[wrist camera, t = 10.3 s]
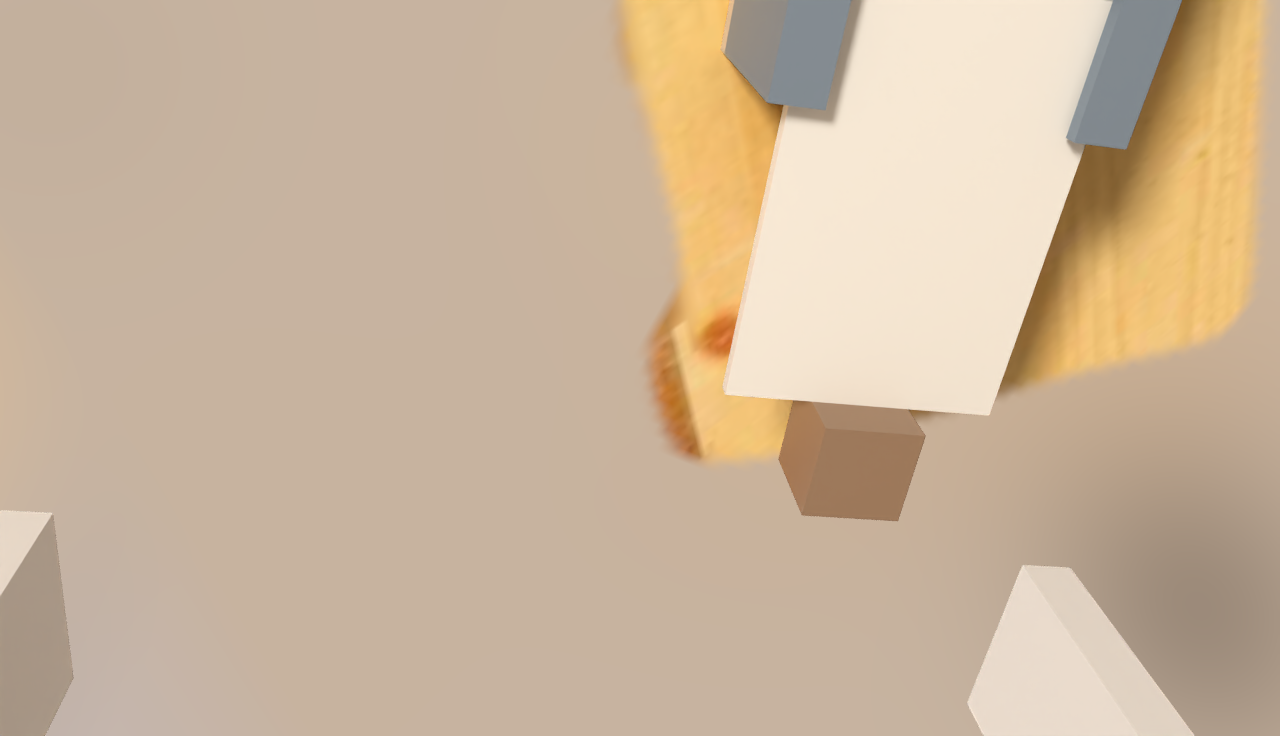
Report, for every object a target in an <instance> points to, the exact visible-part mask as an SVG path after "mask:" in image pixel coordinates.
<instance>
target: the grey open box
mask: <svg viewBox="0 0 1280 736" xmlns="http://www.w3.org/2000/svg"><path fill="white" fill-rule="evenodd" d="M1181 2H1182V0H1113V3H1112V5H1111V8H1110V11H1109V14H1108V17H1107V20H1106V23H1105V26H1104V29H1103V32H1102V34H1101V37H1100V40H1099V43H1098V46H1097V49H1096V52H1095V55H1094V58H1093V61H1092V63H1091V66H1090V69H1089V72H1088V75H1087V78H1086V81H1085V84H1084V87H1083V89H1082V92H1081V95H1080V98H1079V101H1078V104H1077V107H1076V110H1075V113H1074V116H1073V118H1072V121H1071V124H1070V127H1069V130H1068V133H1067V136H1066V138H1067V139H1068V140H1070V141H1072V142H1074V143H1080V144H1087V145H1095V146H1103V147H1110V148H1118V149H1127V146H1128V144H1129V141H1130V138H1131V136H1132V133H1133V130H1134V128H1135V125H1136V122H1137V120H1138V117H1139V114H1140V112H1141V109H1142V106H1143V104H1144V101H1145V98H1146V96H1147V93H1148V90H1149V88H1150V85H1151V82H1152V80H1153V77H1154V74H1155V72H1156V69H1157V66H1158V64H1159V61H1160V58H1161V56H1162V53H1163V50H1164V47H1165V45H1166V42H1167V39H1168V37H1169V34H1170V31H1171V29H1172V26H1173V23H1174V21H1175V18H1176V15H1177V13H1178V10H1179V7H1180V5H1181ZM850 4H851V0H730V2H729V7H728V13H727V18H726V23H725V29H724V34H723V40H722V45H721V51H722V52H723V53H724V54H725V55H726V56H727V58H728V59H729V60H730V61H731V62H732V63H733V64H734V66H735V67H736V68H737V69H738V70H739V71H740V72H741V73H742V75H743V76H744V77H745V78H746V79H747V80H748V81H749V83H750V84H751V85H752V86H753V87H754V88H755V89H756V91H757V92H758V93H759V94H760V95H761V96H762V97H763V99H764V100H765V101H766V102H767V103H773V104H780V105H788V106H796V107H803V108H811V109H819V110H826V106H827V102H828V98H829V93H830V89H831V85H832V81H833V76H834V72H835V68H836V64H837V59H838V55H839V51H840V47H841V42H842V38H843V34H844V30H845V25H846V21H847V17H848V13H849V8H850Z"/></svg>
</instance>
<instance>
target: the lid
mask: <svg viewBox="0 0 1280 736" xmlns="http://www.w3.org/2000/svg"><path fill="white" fill-rule="evenodd" d="M1112 3H1113V0H851V4H850V8H849V13H848V17H847V21H846V25H845V30H844V34H843V38H842V42H841V47H840V51H839V55H838V59H837V64H836V68H835V72H834V76H833V81H832V85H831V89H830V93H829V98H828V102H827V106H826V110H819V109H811V108H803V107H796V106H788V105H784V106H783V110H782V115H781V120H780V124H779V129H778V133H777V138H776V143H775V147H774V152H773V157H772V161H771V166H770V170H769V175H768V180H767V184H766V189H765V193H764V198H763V203H762V207H761V212H760V217H759V221H758V226H757V230H756V235H755V240H754V244H753V249H752V253H751V258H750V263H749V267H748V272H747V277H746V281H745V286H744V290H743V295H742V300H741V304H740V309H739V313H738V318H737V323H736V327H735V332H734V337H733V341H732V346H731V350H730V355H729V360H728V364H727V369H726V373H725V378H724V383H723V390H724V392H725V395H735V396H748V397H760V398H773V399H785V400H793V404H792V408H791V412H790V416H789V420H788V424H787V428H786V432H785V436H784V440H783V444H782V447H781V451H780V455H779V462H780V464H781V466H782V469H783V471H784V474H785V476H786V478H787V481H788V483H789V486H790V488H791V490H792V493H793V495H794V498H795V500H796V502H797V505H798V507H799V510H800V512H801V514H802V515H805V516H822V517H838V518H855V519H872V520H888V521H898V519H899V516H900V513H901V510H902V507H903V504H904V500H905V498H906V495H907V492H908V488H909V485H910V482H911V479H912V476H913V473H914V470H915V467H916V464H917V461H918V458H919V454H920V452H921V449H922V445H923V442H924V439H925V434H924V433H923V431H922V430H921V428H920V427H919V425H918V424H917V422H916V421H915V419H914V418H913V416H912V415H911V413H910V412H909V410H908V409H910V410H923V411H935V412H948V413H960V414H973V415H986V416H989V415H990V412H991V409H992V407H993V404H994V401H995V398H996V395H997V393H998V390H999V387H1000V384H1001V381H1002V379H1003V376H1004V373H1005V370H1006V367H1007V364H1008V362H1009V359H1010V356H1011V353H1012V350H1013V348H1014V345H1015V342H1016V339H1017V336H1018V333H1019V331H1020V328H1021V325H1022V322H1023V319H1024V317H1025V314H1026V311H1027V308H1028V305H1029V303H1030V300H1031V297H1032V294H1033V291H1034V288H1035V286H1036V283H1037V280H1038V277H1039V274H1040V272H1041V269H1042V266H1043V263H1044V260H1045V257H1046V255H1047V252H1048V249H1049V246H1050V243H1051V241H1052V238H1053V235H1054V232H1055V229H1056V226H1057V224H1058V221H1059V218H1060V215H1061V212H1062V210H1063V207H1064V204H1065V201H1066V198H1067V195H1068V193H1069V190H1070V187H1071V184H1072V181H1073V179H1074V176H1075V173H1076V170H1077V167H1078V164H1079V162H1080V159H1081V156H1082V153H1083V150H1084V148H1085V145H1086V144H1080V143H1074V142H1072V141H1070V140H1068V139H1067V138H1066V136H1067V133H1068V130H1069V127H1070V124H1071V121H1072V118H1073V116H1074V113H1075V110H1076V107H1077V104H1078V101H1079V98H1080V95H1081V92H1082V89H1083V87H1084V84H1085V81H1086V78H1087V75H1088V72H1089V69H1090V66H1091V63H1092V61H1093V58H1094V55H1095V52H1096V49H1097V46H1098V43H1099V40H1100V37H1101V34H1102V32H1103V29H1104V26H1105V23H1106V20H1107V17H1108V14H1109V11H1110V8H1111V5H1112Z"/></svg>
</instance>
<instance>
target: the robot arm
mask: <svg viewBox="0 0 1280 736" xmlns="http://www.w3.org/2000/svg"><path fill="white" fill-rule="evenodd" d="M72 680H73V670H72V661H71V653H70V645H69V637H68V629H67V622H66V614H65V606H64V598H63V590H62V582H61V574H60V566H59V558H58V550H57V542H56V534H55V526H54V518H53V513H42V512H22V511H4V510H3V511H2V510H0V736H45V735H46V733H47V730H48V729H49V727H50V725H51V723H52V721H53V719H54V717H55V715H56V713H57V711H58V709H59V706H60V704H61V702H62V700H63V698H64V696H65V694H66V692H67V690H68V688H69V686H70V684H71V682H72ZM967 705H968V707H969V708H970V710H971V712H972V714H973V716H974V718H975V720H976V722H977V724H978V726H979V728H980V730H981V732H982V734H983V736H1195V735H1194V734H1193V733H1192V731H1191V730H1190V729H1189V727H1188V726H1187V725H1186V723H1185V722H1184V721H1183V719H1182V718H1181V716H1180V715H1179V714H1178V713H1177V711H1176V710H1175V709H1174V707H1173V706H1172V704H1171V703H1170V702H1169V700H1168V699H1167V698H1166V696H1165V695H1164V693H1163V692H1162V691H1161V689H1160V688H1159V687H1158V685H1157V684H1156V683H1155V682H1154V680H1153V679H1152V677H1151V676H1150V675H1149V673H1148V672H1147V671H1146V669H1145V668H1144V666H1143V665H1142V664H1141V663H1140V661H1139V660H1138V658H1137V657H1136V656H1135V654H1134V653H1133V652H1132V650H1131V649H1130V648H1129V646H1128V645H1127V644H1126V642H1125V641H1124V640H1123V638H1122V637H1121V635H1120V634H1119V633H1118V632H1117V630H1116V629H1115V627H1114V626H1113V625H1112V623H1111V622H1110V621H1109V619H1108V618H1107V617H1106V615H1105V614H1104V613H1103V611H1102V610H1101V608H1100V607H1099V606H1098V604H1097V603H1096V602H1095V600H1094V599H1093V598H1092V596H1091V595H1090V594H1089V592H1088V591H1087V590H1086V588H1085V587H1084V586H1083V584H1082V583H1081V582H1080V580H1079V579H1078V578H1077V576H1076V575H1075V573H1074V572H1073V571H1072V570H1071V568H1067V567H1048V566H1028V565H1023V566H1022V568H1021V570H1020V573H1019V575H1018V578H1017V580H1016V583H1015V585H1014V588H1013V590H1012V593H1011V595H1010V598H1009V600H1008V603H1007V605H1006V607H1005V610H1004V612H1003V615H1002V617H1001V620H1000V622H999V625H998V628H997V630H996V632H995V635H994V637H993V640H992V642H991V645H990V647H989V650H988V652H987V655H986V657H985V660H984V662H983V665H982V667H981V670H980V672H979V675H978V677H977V680H976V682H975V685H974V687H973V690H972V692H971V694H970V697H969V700H968V702H967Z"/></svg>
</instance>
